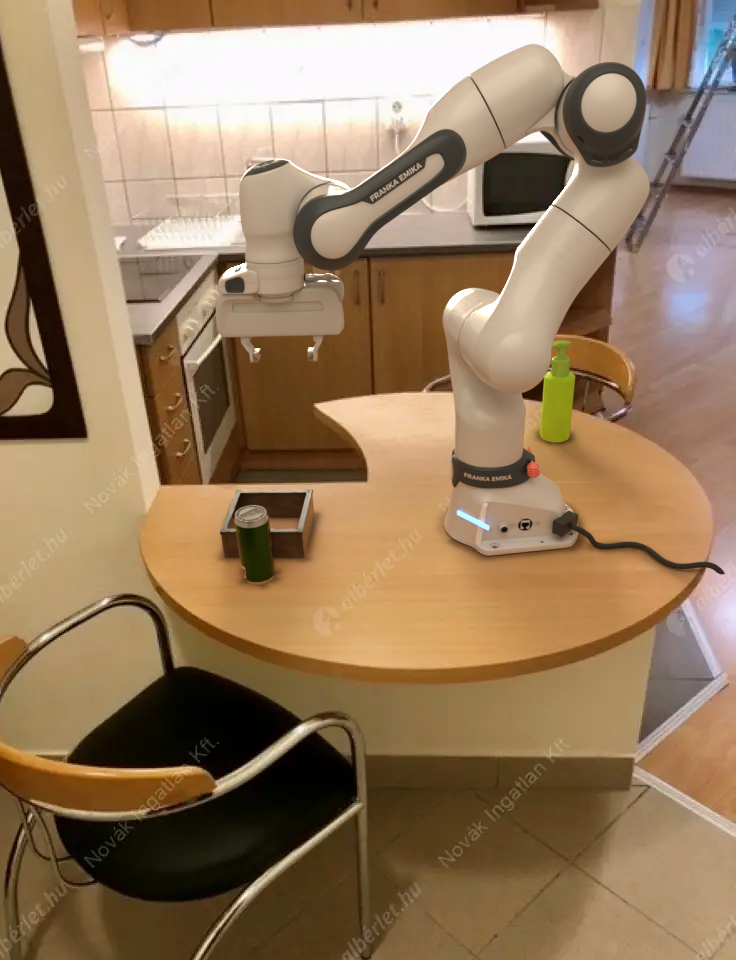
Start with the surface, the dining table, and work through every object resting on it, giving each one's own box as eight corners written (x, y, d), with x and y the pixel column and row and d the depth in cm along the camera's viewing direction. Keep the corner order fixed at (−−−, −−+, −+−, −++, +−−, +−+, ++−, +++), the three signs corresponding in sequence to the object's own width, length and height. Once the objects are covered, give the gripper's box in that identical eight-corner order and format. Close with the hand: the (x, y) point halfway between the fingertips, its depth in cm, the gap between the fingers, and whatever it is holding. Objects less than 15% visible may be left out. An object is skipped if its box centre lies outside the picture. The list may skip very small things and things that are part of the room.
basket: (314, 515, 154) (312, 489, 151) (305, 558, 142) (302, 532, 139) (239, 515, 155) (236, 489, 152) (223, 558, 144) (219, 531, 141)
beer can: (252, 590, 135) (243, 526, 129) (236, 574, 139) (227, 512, 133) (281, 578, 138) (274, 514, 131) (265, 563, 142) (257, 500, 135)
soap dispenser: (529, 433, 176) (536, 340, 165) (560, 427, 177) (568, 334, 166) (544, 445, 171) (551, 349, 160) (574, 439, 172) (584, 344, 162)
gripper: (345, 267, 133) (349, 352, 140) (216, 271, 135) (227, 354, 143) (341, 279, 127) (346, 366, 135) (207, 283, 130) (219, 369, 137)
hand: (284, 360), depth 139 cm, fingers open, 8 cm apart
